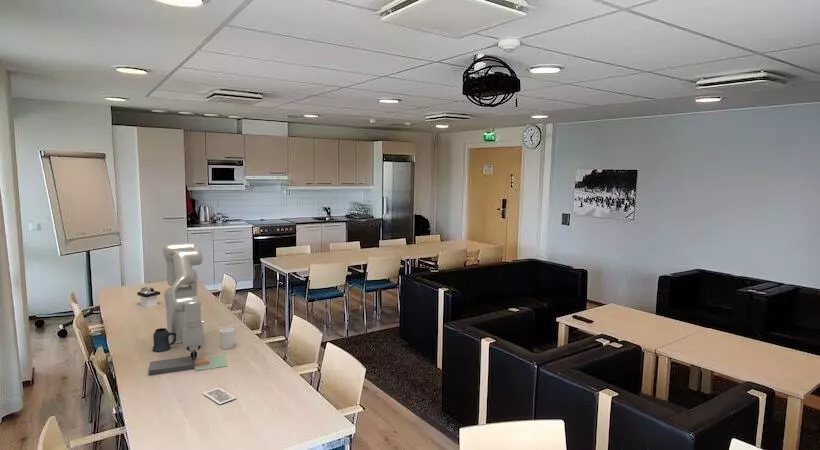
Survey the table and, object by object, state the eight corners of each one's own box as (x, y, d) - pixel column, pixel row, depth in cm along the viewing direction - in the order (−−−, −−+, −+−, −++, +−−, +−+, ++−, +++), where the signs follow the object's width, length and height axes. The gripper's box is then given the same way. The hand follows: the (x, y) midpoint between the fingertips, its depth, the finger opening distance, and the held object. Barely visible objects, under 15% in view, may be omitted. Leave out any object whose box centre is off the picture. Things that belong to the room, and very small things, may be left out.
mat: (194, 358, 253) (194, 357, 253) (224, 354, 260) (224, 353, 260) (195, 371, 237) (195, 370, 237) (227, 366, 244) (227, 365, 243)
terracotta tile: (193, 361, 248) (193, 357, 248) (208, 359, 251) (208, 355, 251) (194, 366, 242) (194, 362, 241) (209, 364, 245) (209, 360, 244)
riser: (150, 366, 241) (150, 361, 241) (193, 360, 250) (193, 355, 250) (148, 375, 231) (148, 370, 230) (194, 369, 239) (194, 364, 239)
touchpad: (219, 406, 203) (219, 401, 203) (202, 395, 213) (202, 390, 212) (236, 400, 209) (236, 395, 209) (219, 389, 219) (219, 385, 218)
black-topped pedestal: (177, 304, 353) (176, 287, 352) (141, 313, 331) (140, 294, 329) (155, 299, 368) (155, 282, 366) (120, 306, 346) (119, 288, 344)
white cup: (219, 349, 266) (218, 332, 265) (220, 345, 273) (220, 328, 272) (234, 348, 268) (233, 331, 267) (235, 344, 275) (235, 327, 274)
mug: (152, 353, 258) (151, 333, 257) (152, 347, 266) (151, 328, 265) (177, 349, 264) (176, 330, 263) (175, 344, 272) (175, 325, 271)
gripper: (208, 320, 249) (209, 354, 251) (176, 323, 243) (177, 358, 245) (209, 324, 242) (210, 359, 244) (176, 328, 236) (177, 363, 238)
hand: (194, 358), depth 244 cm, fingers closed
